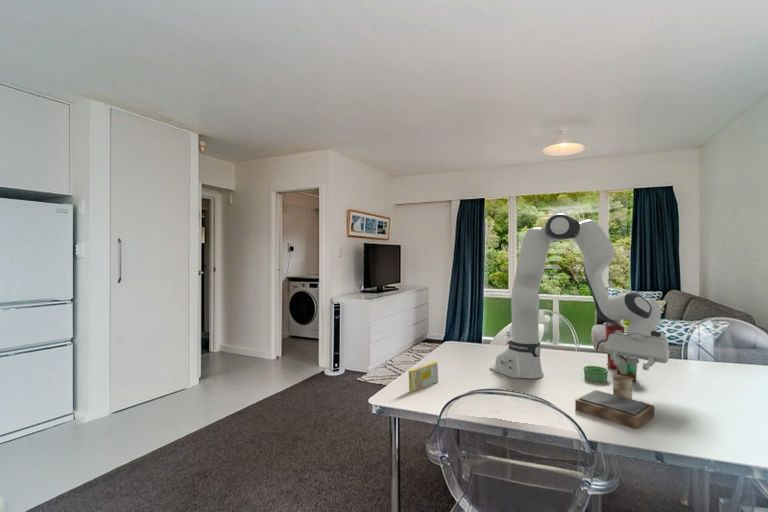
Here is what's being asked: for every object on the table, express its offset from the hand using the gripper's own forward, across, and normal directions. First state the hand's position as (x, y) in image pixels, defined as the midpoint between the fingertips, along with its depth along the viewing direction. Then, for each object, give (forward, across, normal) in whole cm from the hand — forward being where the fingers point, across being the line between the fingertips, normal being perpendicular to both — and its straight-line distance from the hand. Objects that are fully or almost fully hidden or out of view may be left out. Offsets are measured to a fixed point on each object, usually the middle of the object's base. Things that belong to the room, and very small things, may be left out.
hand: (630, 366), depth 138 cm
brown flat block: (+23, +3, -8) cm, 25 cm away
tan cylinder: (+12, 0, +2) cm, 13 cm away
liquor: (-14, -17, +30) cm, 37 cm away
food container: (-6, -7, +21) cm, 23 cm away
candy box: (+44, -55, -29) cm, 76 cm away
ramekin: (+1, -16, +14) cm, 21 cm away
